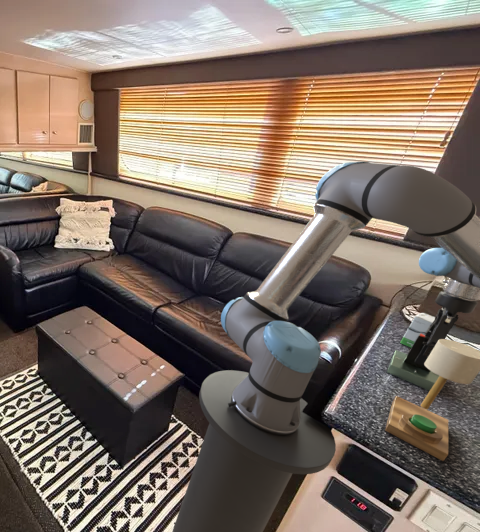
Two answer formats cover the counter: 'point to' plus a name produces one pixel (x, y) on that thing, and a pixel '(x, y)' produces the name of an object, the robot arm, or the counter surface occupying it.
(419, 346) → the black thin upright slab
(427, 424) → the lamp button
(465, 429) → the counter surface
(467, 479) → the counter surface
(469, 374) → the lamp
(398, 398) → the lamp base
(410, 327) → the ink box
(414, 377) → the dimmer
